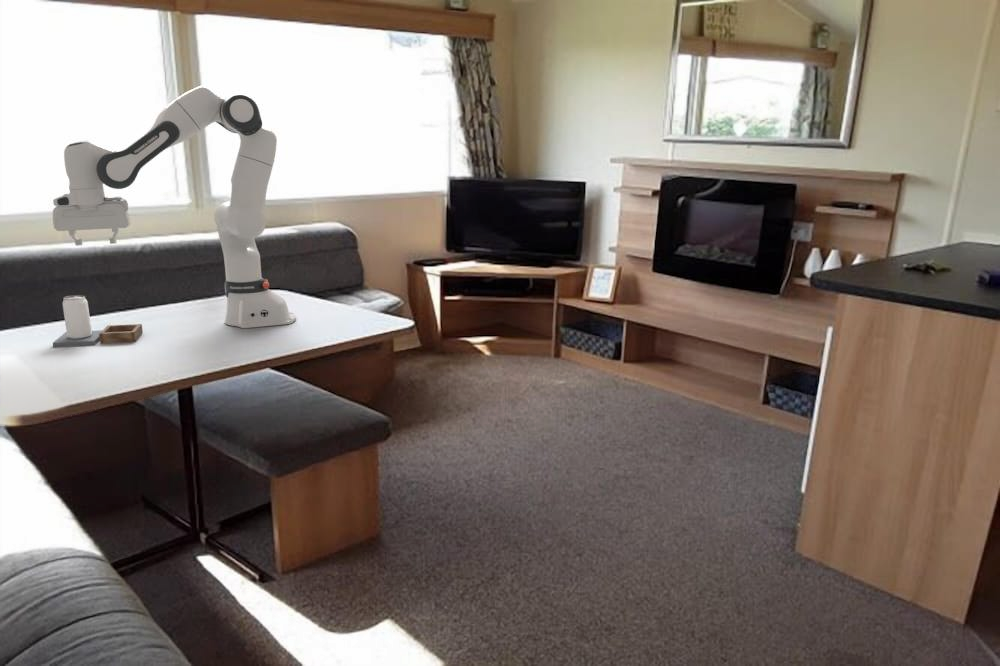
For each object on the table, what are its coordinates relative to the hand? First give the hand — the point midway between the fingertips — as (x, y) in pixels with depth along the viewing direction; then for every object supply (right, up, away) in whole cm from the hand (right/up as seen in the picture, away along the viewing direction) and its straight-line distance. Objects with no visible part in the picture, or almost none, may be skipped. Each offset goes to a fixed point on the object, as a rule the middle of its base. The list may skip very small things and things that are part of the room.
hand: (96, 244), depth 221 cm
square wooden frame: (+7, -28, +2) cm, 29 cm away
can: (-4, -28, -1) cm, 28 cm away
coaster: (-4, -29, -1) cm, 29 cm away
